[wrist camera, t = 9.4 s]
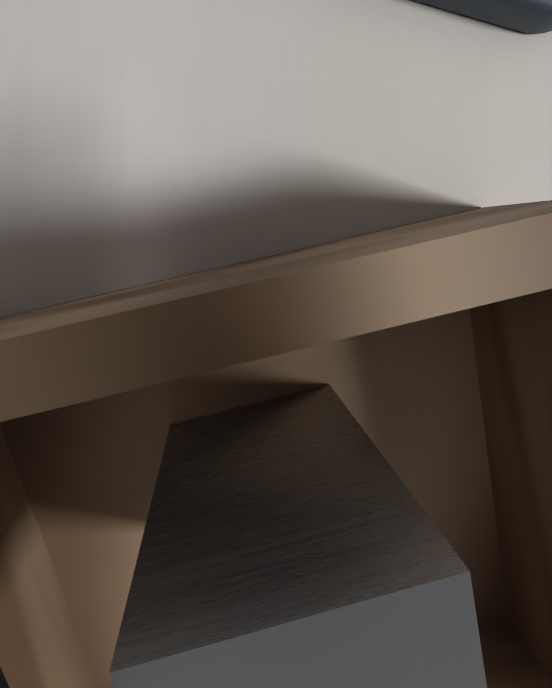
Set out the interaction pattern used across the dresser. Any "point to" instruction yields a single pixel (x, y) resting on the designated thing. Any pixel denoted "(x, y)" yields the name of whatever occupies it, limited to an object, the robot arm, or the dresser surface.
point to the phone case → (503, 12)
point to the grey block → (292, 562)
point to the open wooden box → (277, 380)
